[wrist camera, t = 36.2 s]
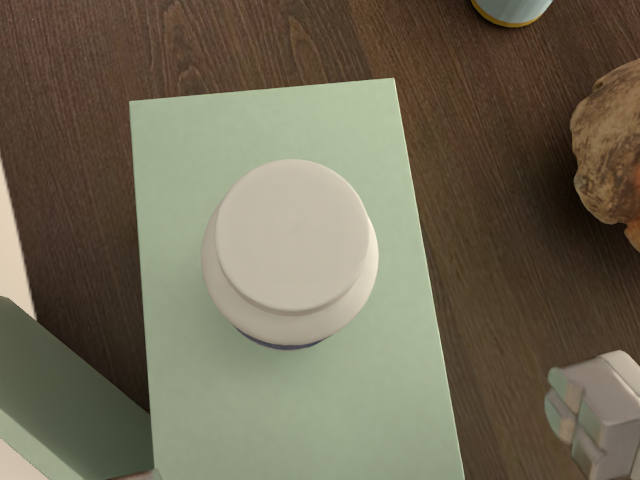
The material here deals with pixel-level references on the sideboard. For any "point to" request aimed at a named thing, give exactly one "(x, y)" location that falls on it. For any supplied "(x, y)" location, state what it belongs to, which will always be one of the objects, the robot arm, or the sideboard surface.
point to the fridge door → (65, 407)
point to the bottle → (511, 11)
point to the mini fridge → (300, 365)
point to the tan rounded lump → (610, 149)
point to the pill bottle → (289, 254)
